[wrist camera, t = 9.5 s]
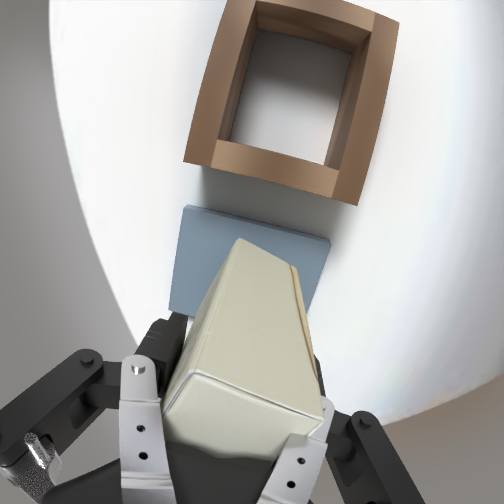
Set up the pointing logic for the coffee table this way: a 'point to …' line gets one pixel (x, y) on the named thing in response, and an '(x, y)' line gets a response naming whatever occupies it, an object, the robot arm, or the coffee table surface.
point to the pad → (219, 245)
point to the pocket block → (350, 108)
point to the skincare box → (245, 363)
